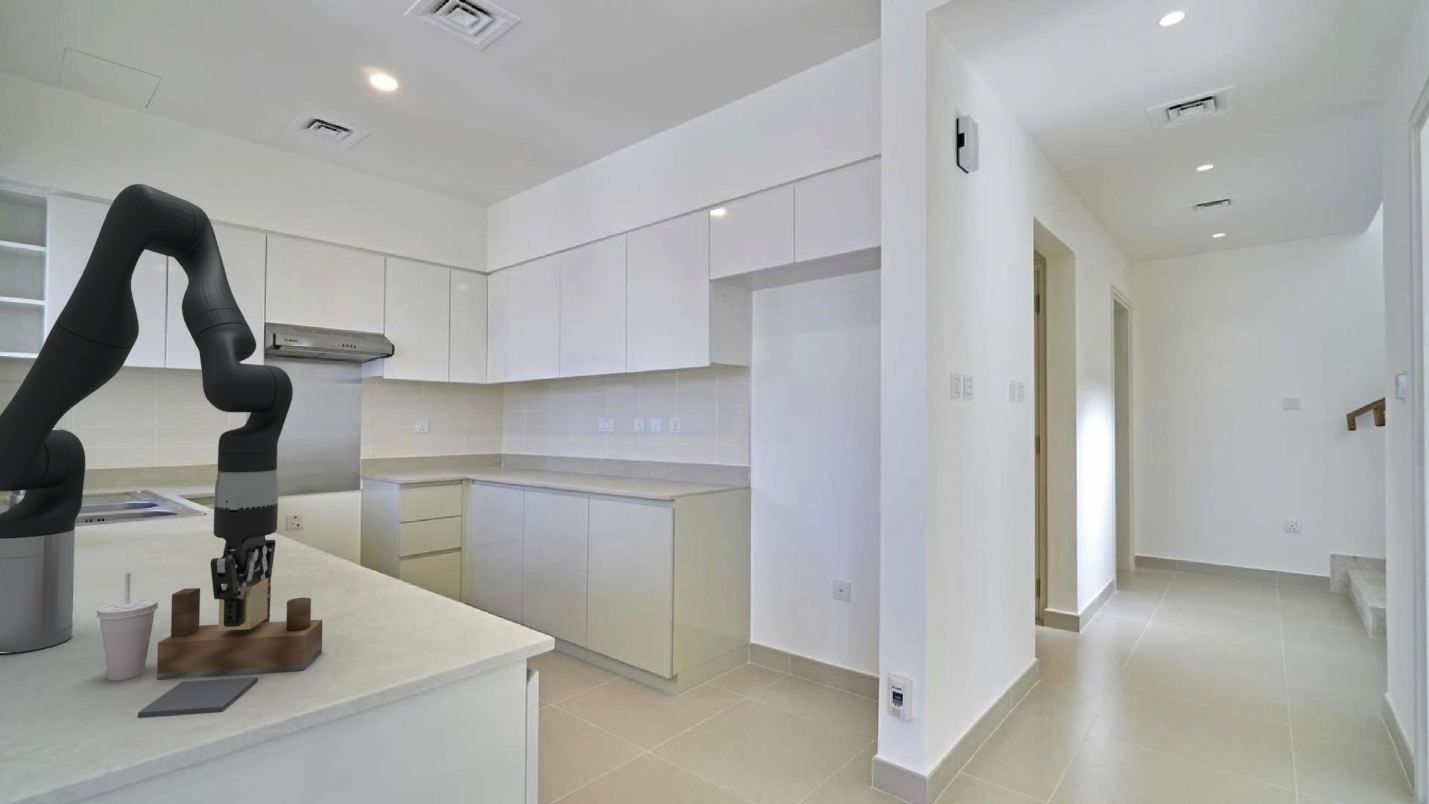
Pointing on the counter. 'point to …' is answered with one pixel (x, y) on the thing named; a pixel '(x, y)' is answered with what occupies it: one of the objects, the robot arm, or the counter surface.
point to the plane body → (236, 642)
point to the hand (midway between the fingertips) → (243, 619)
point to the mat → (199, 697)
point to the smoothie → (126, 634)
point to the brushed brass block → (250, 605)
